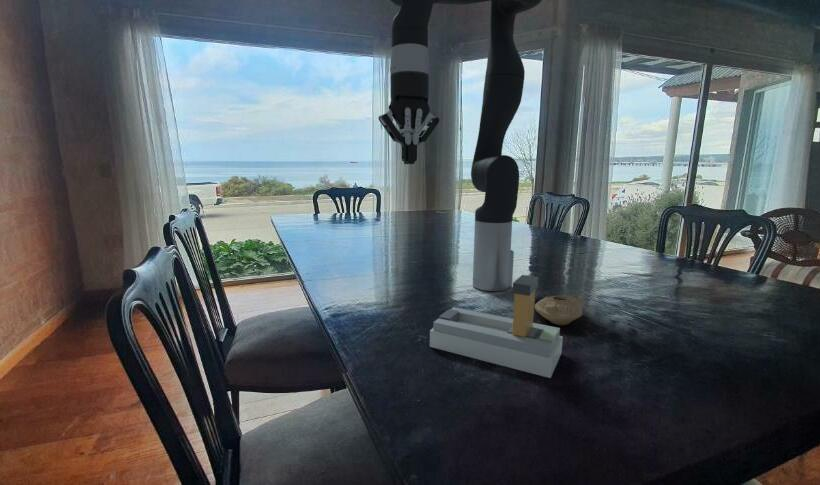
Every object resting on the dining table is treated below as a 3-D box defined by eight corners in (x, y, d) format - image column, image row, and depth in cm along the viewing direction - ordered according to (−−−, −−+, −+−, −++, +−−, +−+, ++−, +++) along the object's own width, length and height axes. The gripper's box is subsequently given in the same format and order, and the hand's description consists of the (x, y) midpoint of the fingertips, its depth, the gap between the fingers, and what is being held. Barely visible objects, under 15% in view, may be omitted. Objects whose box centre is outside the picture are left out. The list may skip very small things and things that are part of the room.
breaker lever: (505, 341, 62) (508, 282, 60) (514, 329, 67) (517, 274, 65) (530, 347, 60) (534, 286, 58) (538, 334, 65) (542, 277, 63)
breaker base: (429, 346, 67) (430, 320, 66) (451, 328, 75) (452, 304, 74) (550, 378, 57) (552, 347, 56) (561, 353, 65) (563, 326, 64)
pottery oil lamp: (599, 316, 80) (606, 292, 76) (559, 346, 76) (564, 322, 72) (564, 291, 86) (569, 268, 82) (525, 318, 82) (528, 295, 78)
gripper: (384, 65, 70) (385, 163, 74) (448, 73, 76) (446, 164, 79) (371, 74, 77) (372, 164, 80) (430, 80, 82) (429, 164, 86)
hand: (409, 164), depth 80 cm, fingers closed
